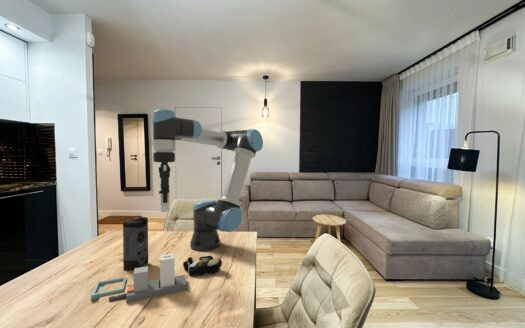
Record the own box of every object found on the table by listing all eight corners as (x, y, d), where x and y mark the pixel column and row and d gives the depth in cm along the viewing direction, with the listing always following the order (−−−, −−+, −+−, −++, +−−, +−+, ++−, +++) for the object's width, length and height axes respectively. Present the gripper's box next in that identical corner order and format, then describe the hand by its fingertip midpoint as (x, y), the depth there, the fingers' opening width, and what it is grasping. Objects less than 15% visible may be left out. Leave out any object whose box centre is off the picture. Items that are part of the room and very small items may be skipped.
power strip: (184, 282, 88) (184, 258, 87) (187, 292, 81) (186, 266, 81) (111, 297, 78) (110, 270, 78) (107, 310, 72) (106, 280, 72)
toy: (192, 253, 104) (223, 246, 101) (196, 270, 103) (228, 263, 101) (176, 266, 91) (212, 259, 89) (181, 286, 91) (217, 278, 88)
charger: (173, 284, 85) (173, 252, 85) (174, 290, 81) (174, 257, 81) (160, 286, 83) (160, 254, 83) (160, 293, 79) (160, 260, 79)
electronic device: (134, 273, 95) (133, 222, 94) (121, 271, 96) (120, 222, 95) (150, 262, 104) (149, 217, 103) (138, 261, 105) (137, 216, 104)
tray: (126, 281, 88) (126, 276, 88) (123, 294, 80) (123, 289, 80) (97, 286, 85) (97, 281, 85) (91, 300, 76) (91, 295, 76)
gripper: (153, 152, 100) (154, 202, 101) (152, 150, 77) (153, 216, 78) (173, 152, 103) (173, 201, 104) (177, 151, 80) (177, 214, 81)
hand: (164, 208), depth 91 cm, fingers open, 13 cm apart
